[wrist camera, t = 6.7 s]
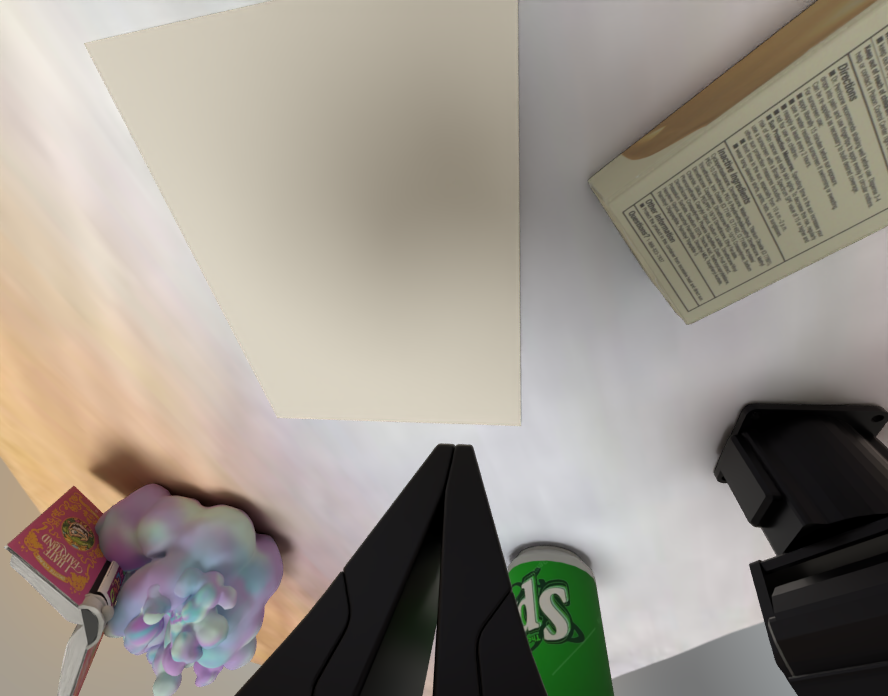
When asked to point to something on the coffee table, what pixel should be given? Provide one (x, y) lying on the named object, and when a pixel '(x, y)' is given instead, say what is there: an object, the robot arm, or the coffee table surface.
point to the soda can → (562, 621)
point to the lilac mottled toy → (152, 581)
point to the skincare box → (762, 163)
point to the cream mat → (345, 194)
